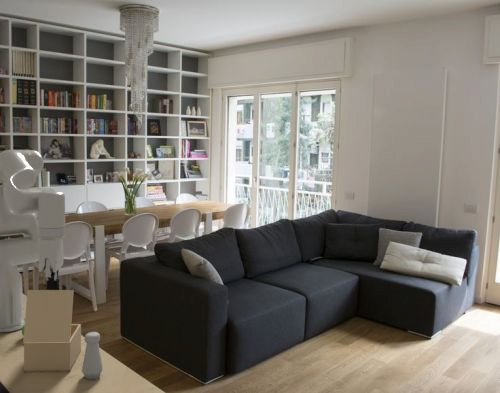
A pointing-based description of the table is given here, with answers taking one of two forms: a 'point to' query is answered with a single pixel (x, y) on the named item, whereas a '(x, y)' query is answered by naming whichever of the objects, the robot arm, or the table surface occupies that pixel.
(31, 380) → the table surface
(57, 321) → the flap
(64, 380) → the table surface
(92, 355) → the salt shaker
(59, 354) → the carton
